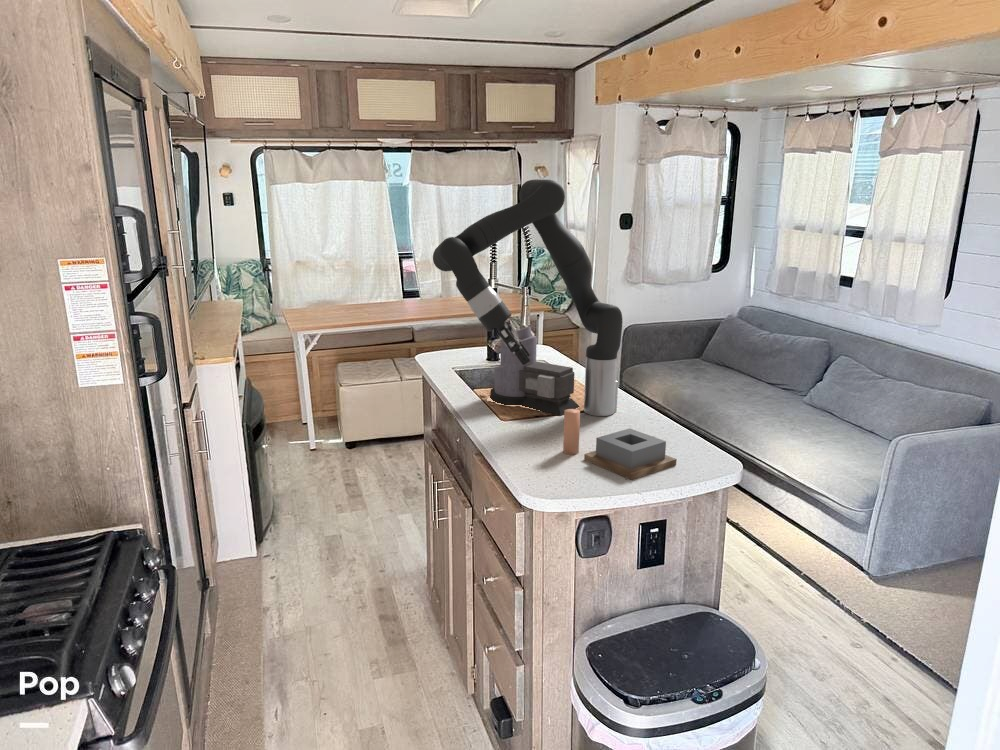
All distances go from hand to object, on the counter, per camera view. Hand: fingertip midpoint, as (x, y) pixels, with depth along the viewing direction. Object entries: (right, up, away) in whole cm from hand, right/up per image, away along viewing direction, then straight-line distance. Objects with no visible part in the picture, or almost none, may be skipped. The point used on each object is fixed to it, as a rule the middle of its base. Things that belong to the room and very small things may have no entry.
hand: (527, 360), depth 181 cm
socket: (+26, -24, -3) cm, 35 cm away
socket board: (+26, -25, -3) cm, 36 cm away
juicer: (+3, -13, +46) cm, 48 cm away
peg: (+11, -24, +4) cm, 27 cm away
